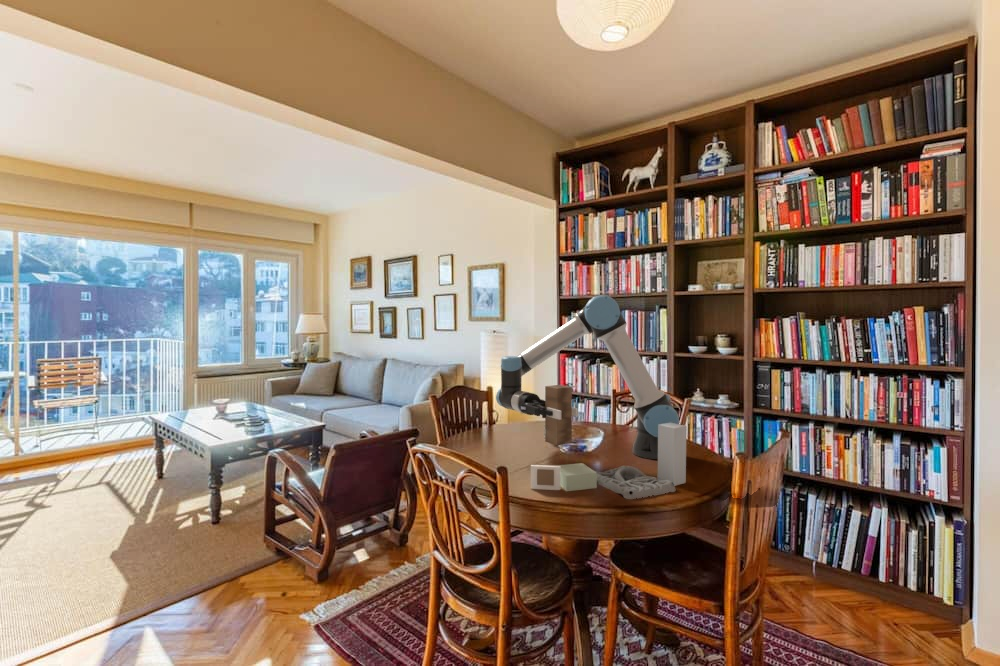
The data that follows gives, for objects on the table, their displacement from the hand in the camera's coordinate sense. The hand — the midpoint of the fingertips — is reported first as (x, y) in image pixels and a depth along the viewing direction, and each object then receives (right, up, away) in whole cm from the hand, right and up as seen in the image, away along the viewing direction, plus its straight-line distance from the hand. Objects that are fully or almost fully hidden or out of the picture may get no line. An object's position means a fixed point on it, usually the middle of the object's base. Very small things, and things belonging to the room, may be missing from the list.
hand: (568, 414), depth 151 cm
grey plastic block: (+33, -22, +2) cm, 39 cm away
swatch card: (-8, -22, -4) cm, 24 cm away
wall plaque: (+19, -23, +1) cm, 30 cm away
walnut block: (-3, -10, +5) cm, 11 cm away
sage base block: (+2, -22, 0) cm, 22 cm away
